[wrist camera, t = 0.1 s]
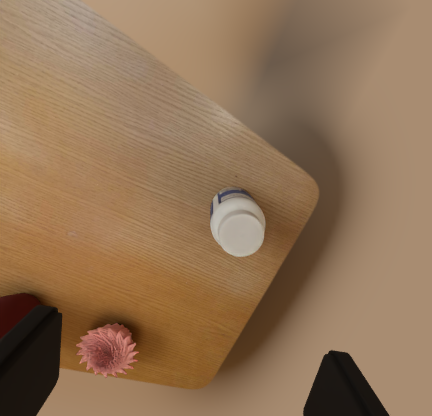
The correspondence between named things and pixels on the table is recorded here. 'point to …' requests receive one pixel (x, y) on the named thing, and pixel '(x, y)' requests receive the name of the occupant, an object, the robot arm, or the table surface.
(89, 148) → the table surface
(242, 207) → the pill bottle
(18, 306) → the mug
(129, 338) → the flower
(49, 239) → the table surface
